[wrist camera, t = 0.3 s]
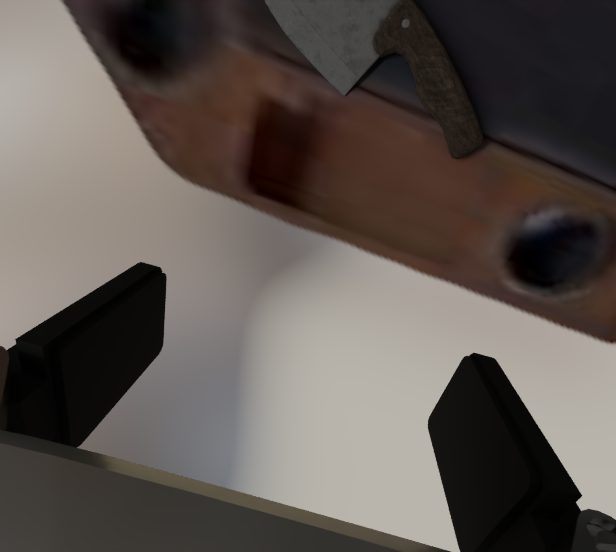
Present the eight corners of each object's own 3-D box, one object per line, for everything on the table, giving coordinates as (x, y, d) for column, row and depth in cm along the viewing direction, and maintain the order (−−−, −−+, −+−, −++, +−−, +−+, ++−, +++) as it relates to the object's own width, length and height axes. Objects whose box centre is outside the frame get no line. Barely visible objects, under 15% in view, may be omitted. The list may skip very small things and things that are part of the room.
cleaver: (500, 122, 33) (509, 122, 31) (421, 191, 37) (425, 194, 35) (293, -150, 27) (289, -172, 25) (224, -36, 31) (215, -47, 29)
